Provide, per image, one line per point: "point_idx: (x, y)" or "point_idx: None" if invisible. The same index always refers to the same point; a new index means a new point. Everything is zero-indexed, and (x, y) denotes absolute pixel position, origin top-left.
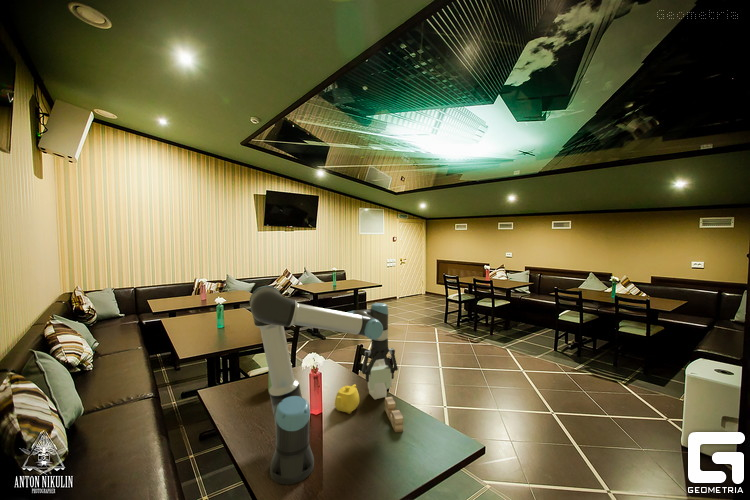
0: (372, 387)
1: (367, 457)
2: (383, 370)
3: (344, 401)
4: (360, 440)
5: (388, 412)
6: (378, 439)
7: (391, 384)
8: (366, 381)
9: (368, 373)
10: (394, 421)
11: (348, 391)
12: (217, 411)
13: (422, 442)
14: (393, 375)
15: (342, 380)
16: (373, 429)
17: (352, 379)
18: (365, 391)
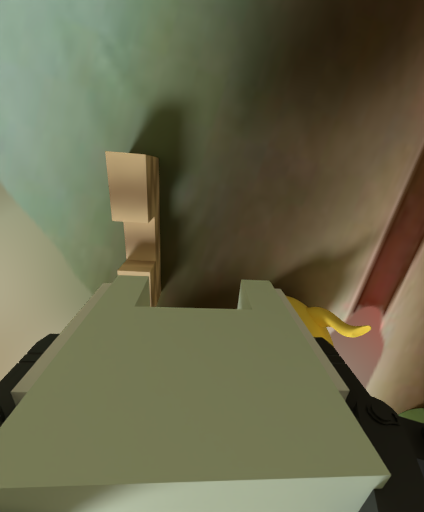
0: (262, 291)
1: (306, 35)
2: (130, 452)
3: (313, 323)
4: (293, 150)
5: (156, 256)
6: (231, 136)
7: (95, 294)
8: (325, 340)
9: (371, 420)
10: (151, 172)
11: None
12: None
13: (63, 59)
14: (20, 363)
15: None
16: (230, 198)
17: None
18: None
